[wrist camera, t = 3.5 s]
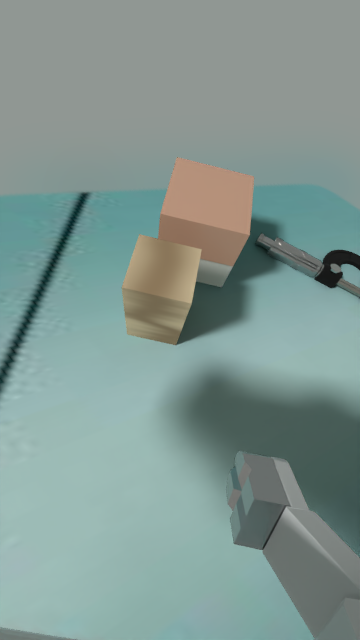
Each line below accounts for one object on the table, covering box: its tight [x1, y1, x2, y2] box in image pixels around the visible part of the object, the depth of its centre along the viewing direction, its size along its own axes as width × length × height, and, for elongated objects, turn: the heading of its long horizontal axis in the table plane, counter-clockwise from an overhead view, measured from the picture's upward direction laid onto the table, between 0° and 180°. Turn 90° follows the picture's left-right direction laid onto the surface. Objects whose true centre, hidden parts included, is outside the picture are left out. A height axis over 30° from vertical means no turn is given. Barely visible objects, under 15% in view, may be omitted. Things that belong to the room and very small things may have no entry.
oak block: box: [122, 234, 202, 345], centre depth 21 cm, size 4×4×8 cm
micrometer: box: [255, 233, 360, 298], centre depth 30 cm, size 15×7×2 cm, turn 60°
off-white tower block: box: [196, 259, 233, 287], centre depth 27 cm, size 7×7×4 cm
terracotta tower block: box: [158, 157, 254, 266], centre depth 23 cm, size 7×7×4 cm
